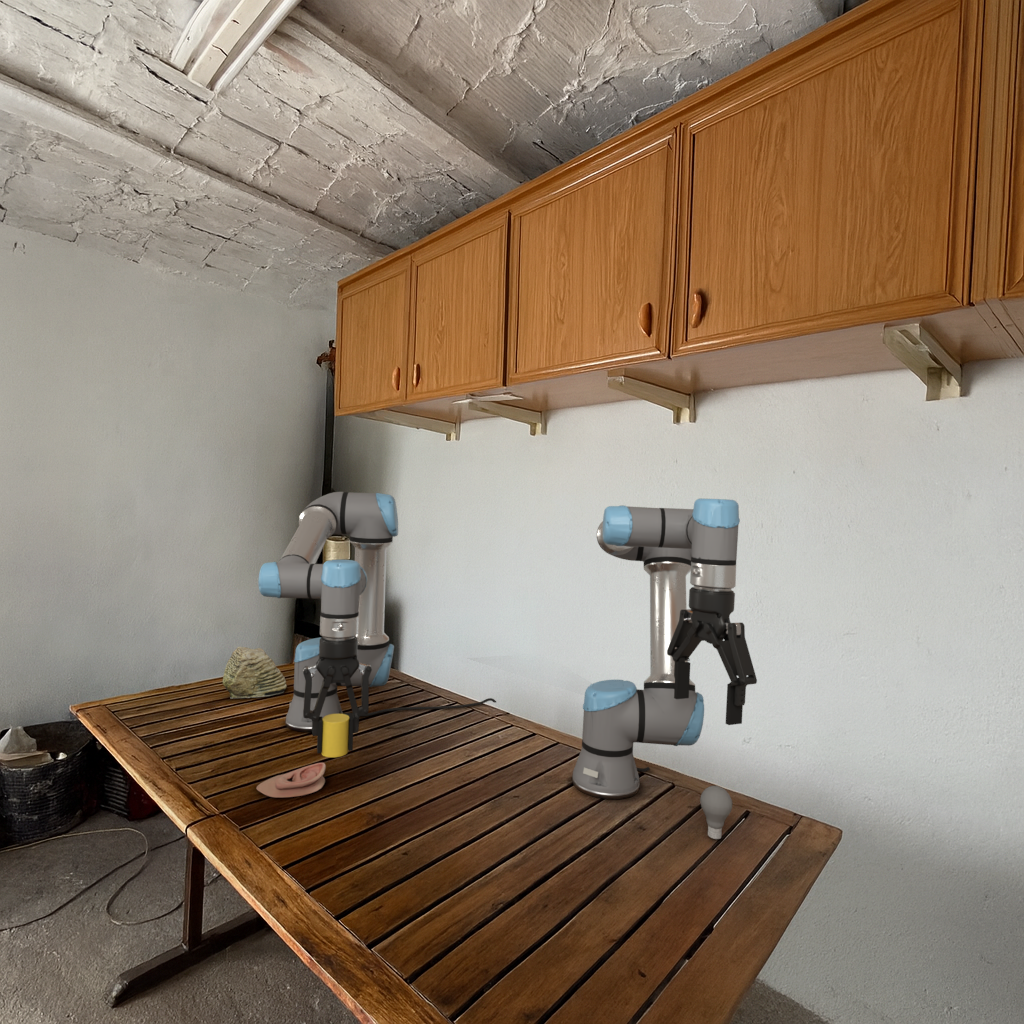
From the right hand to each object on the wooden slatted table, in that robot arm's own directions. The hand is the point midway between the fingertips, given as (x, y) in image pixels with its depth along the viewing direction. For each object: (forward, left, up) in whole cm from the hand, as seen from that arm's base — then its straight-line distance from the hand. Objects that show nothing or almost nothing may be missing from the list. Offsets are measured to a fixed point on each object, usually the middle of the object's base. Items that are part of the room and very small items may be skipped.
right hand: (706, 710), depth 110 cm
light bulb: (-12, -10, -29) cm, 33 cm away
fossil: (+71, -124, -29) cm, 146 cm away
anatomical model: (+64, -56, -29) cm, 90 cm away
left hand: (+56, -44, -18) cm, 74 cm away
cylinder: (+57, -44, -18) cm, 74 cm away
